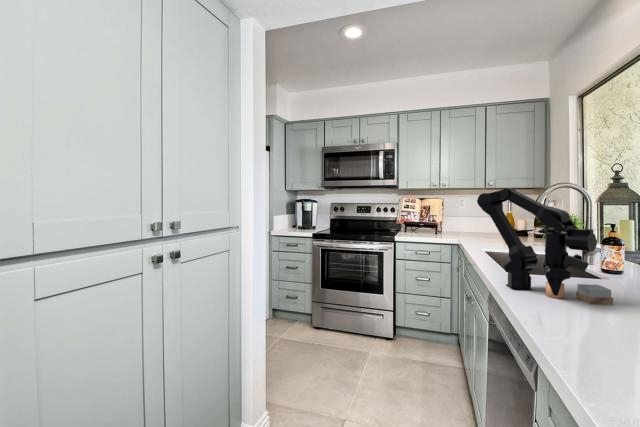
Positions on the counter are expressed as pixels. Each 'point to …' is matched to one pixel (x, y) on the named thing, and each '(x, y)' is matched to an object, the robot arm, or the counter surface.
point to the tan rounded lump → (550, 293)
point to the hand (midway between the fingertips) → (554, 293)
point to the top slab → (594, 290)
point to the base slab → (594, 299)
